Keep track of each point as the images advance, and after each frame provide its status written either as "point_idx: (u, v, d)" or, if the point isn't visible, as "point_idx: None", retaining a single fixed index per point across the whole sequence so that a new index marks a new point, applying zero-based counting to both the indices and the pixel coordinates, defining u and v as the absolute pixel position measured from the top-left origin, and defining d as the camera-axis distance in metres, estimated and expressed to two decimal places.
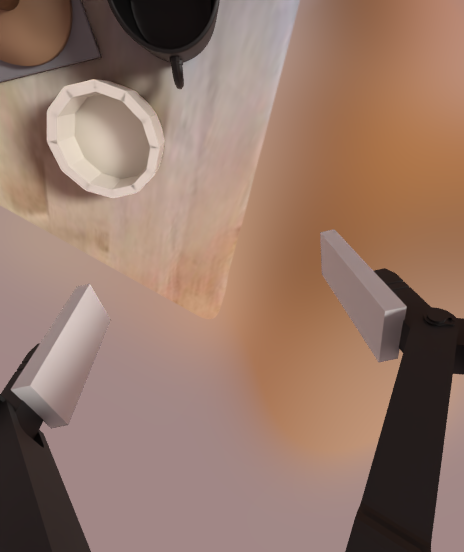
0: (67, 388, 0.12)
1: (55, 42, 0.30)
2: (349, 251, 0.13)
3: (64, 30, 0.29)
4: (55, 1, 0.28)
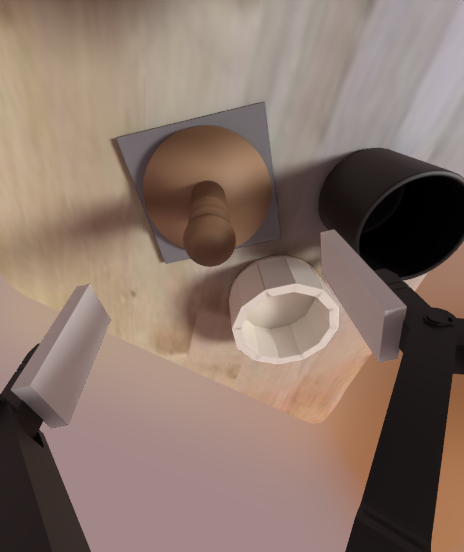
0: (67, 388, 0.12)
1: (246, 234, 0.30)
2: (349, 251, 0.13)
3: (258, 225, 0.29)
4: (257, 204, 0.28)
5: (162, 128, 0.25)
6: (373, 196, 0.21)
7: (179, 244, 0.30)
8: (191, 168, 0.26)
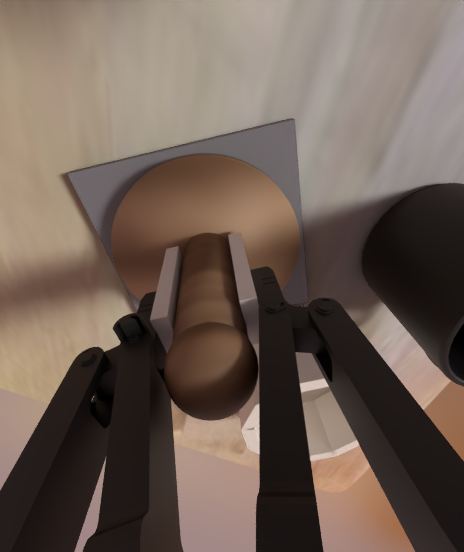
0: None
1: None
2: (241, 251, 0.15)
3: None
4: (279, 263, 0.19)
5: (138, 160, 0.16)
6: None
7: None
8: (182, 216, 0.17)
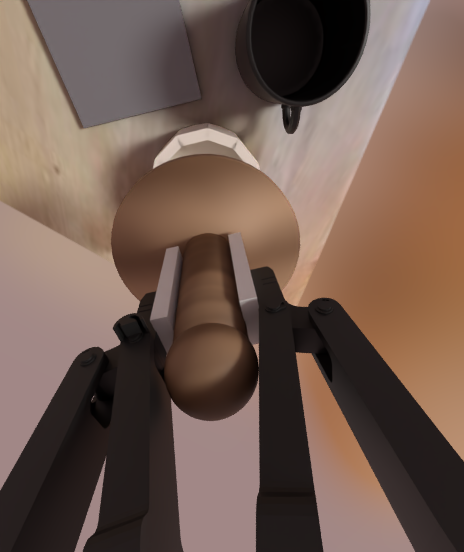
0: None
1: None
2: (241, 251, 0.15)
3: None
4: (279, 263, 0.19)
5: None
6: None
7: None
8: (183, 217, 0.17)
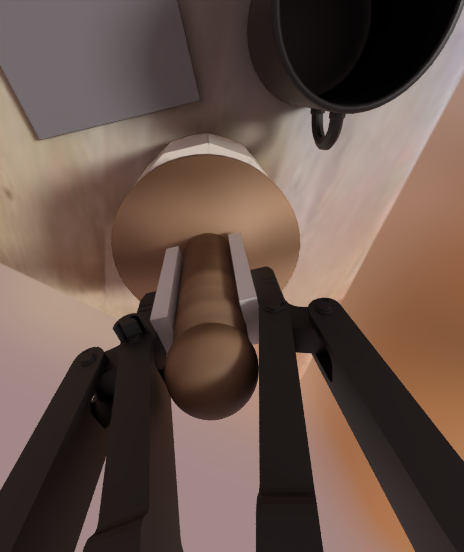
0: None
1: None
2: (241, 251, 0.15)
3: None
4: (279, 263, 0.19)
5: None
6: None
7: None
8: (183, 217, 0.17)
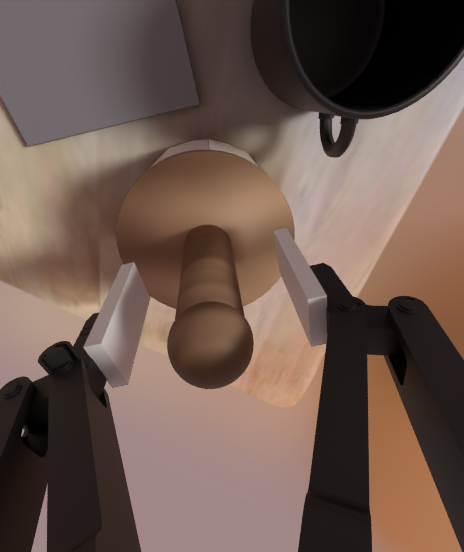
0: (125, 352, 0.13)
1: (259, 290, 0.22)
2: (293, 247, 0.15)
3: (275, 279, 0.22)
4: (275, 254, 0.20)
5: None
6: None
7: (169, 304, 0.22)
8: (184, 209, 0.18)
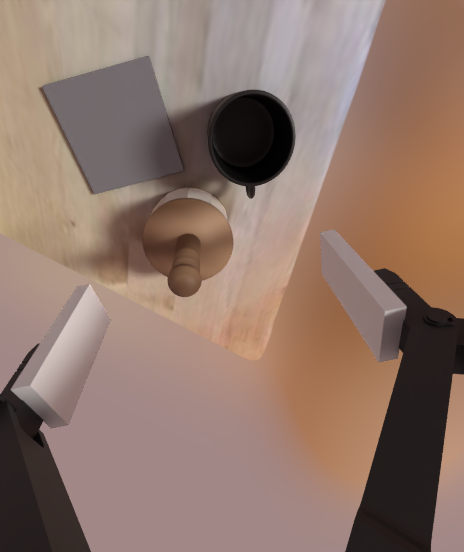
0: (67, 388, 0.12)
1: (218, 268, 0.41)
2: (349, 251, 0.13)
3: (226, 261, 0.40)
4: (224, 248, 0.39)
5: (75, 78, 0.33)
6: (215, 113, 0.29)
7: None
8: (175, 226, 0.37)
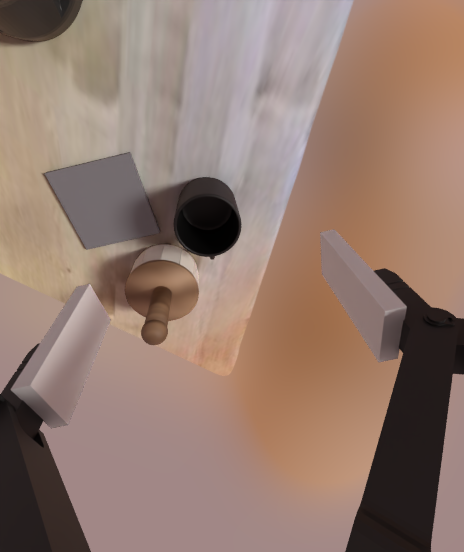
0: (67, 388, 0.12)
1: (186, 311, 0.50)
2: (349, 251, 0.13)
3: (193, 306, 0.50)
4: (191, 296, 0.49)
5: (71, 168, 0.42)
6: (178, 207, 0.39)
7: None
8: (151, 281, 0.46)
